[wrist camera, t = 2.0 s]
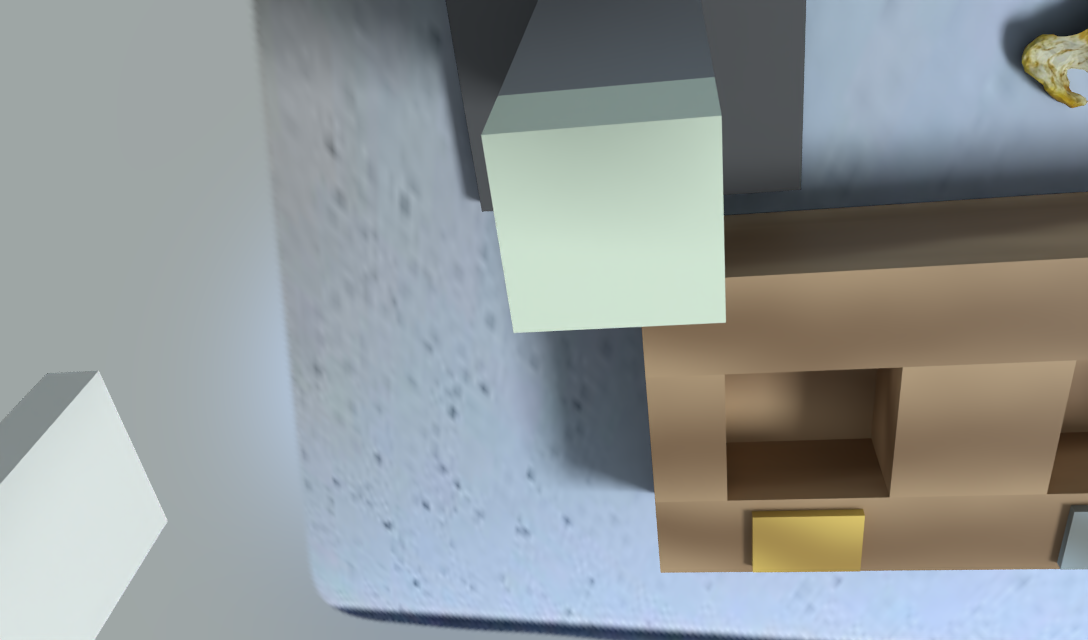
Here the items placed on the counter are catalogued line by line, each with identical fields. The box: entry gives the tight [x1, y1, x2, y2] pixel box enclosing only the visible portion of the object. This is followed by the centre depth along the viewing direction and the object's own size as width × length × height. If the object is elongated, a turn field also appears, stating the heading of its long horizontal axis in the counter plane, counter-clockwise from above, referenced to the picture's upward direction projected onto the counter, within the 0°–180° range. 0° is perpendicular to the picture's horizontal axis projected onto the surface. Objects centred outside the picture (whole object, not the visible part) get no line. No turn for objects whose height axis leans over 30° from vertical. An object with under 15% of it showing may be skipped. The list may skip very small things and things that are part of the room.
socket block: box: [642, 192, 1088, 573], centre depth 30 cm, size 12×20×4 cm, turn 97°
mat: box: [446, 0, 806, 212], centre depth 27 cm, size 10×10×1 cm
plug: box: [481, 0, 726, 333], centre depth 21 cm, size 4×4×12 cm
